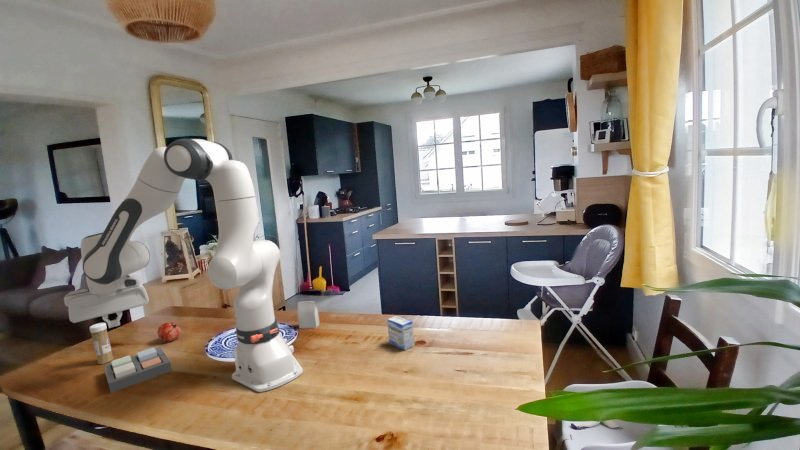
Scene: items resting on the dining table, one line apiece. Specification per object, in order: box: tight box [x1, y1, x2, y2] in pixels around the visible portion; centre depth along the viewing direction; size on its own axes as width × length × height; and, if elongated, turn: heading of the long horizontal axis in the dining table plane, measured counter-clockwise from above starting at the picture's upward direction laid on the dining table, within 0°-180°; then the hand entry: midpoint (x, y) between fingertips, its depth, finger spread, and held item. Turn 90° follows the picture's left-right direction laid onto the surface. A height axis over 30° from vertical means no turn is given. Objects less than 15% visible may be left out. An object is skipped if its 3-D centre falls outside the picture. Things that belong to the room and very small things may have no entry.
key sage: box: [110, 354, 132, 371], centre depth 125 cm, size 5×5×2 cm
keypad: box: [103, 347, 173, 394], centre depth 125 cm, size 16×16×3 cm
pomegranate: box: [157, 321, 181, 343], centre depth 148 cm, size 7×7×10 cm
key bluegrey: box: [136, 347, 158, 362], centre depth 129 cm, size 5×5×2 cm
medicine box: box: [386, 315, 415, 351], centre depth 127 cm, size 8×4×9 cm, turn 42°
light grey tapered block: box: [296, 300, 320, 330], centre depth 149 cm, size 4×7×10 cm, turn 82°
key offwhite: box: [113, 362, 136, 379], centre depth 120 cm, size 5×5×2 cm
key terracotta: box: [141, 357, 162, 370], centre depth 124 cm, size 5×5×2 cm
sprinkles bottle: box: [89, 322, 114, 365], centre depth 134 cm, size 5×5×13 cm
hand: (114, 326), depth 123 cm, fingers closed
